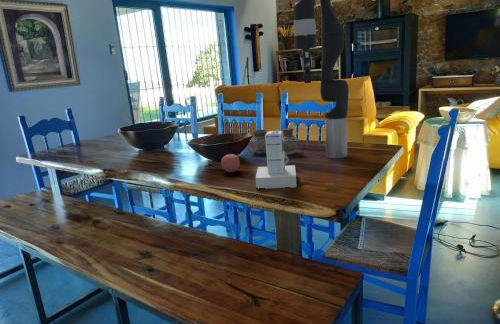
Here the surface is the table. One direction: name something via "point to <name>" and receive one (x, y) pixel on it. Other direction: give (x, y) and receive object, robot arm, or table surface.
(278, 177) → the stand
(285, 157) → the game die
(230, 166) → the apple
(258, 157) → the table surface
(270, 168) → the syrup box
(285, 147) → the pottery
